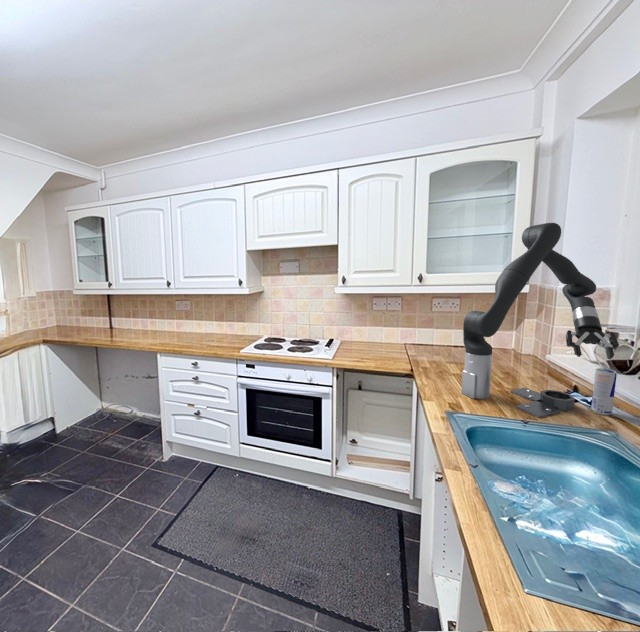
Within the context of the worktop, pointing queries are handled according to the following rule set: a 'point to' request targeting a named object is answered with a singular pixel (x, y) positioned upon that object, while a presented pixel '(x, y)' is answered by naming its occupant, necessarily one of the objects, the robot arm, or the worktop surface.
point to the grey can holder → (545, 402)
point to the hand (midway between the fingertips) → (594, 356)
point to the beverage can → (603, 391)
